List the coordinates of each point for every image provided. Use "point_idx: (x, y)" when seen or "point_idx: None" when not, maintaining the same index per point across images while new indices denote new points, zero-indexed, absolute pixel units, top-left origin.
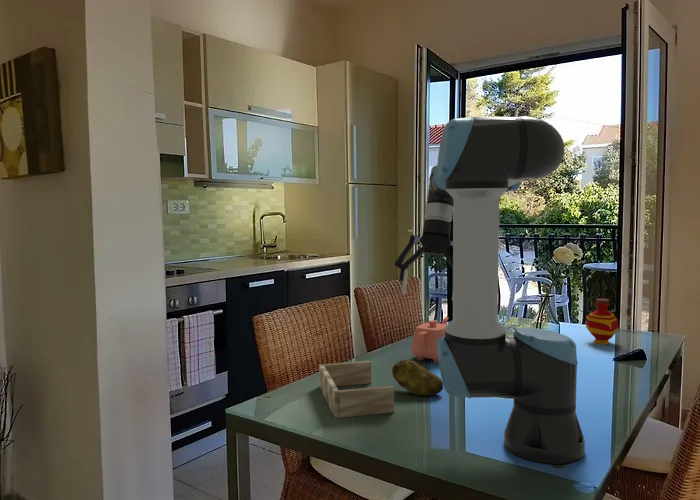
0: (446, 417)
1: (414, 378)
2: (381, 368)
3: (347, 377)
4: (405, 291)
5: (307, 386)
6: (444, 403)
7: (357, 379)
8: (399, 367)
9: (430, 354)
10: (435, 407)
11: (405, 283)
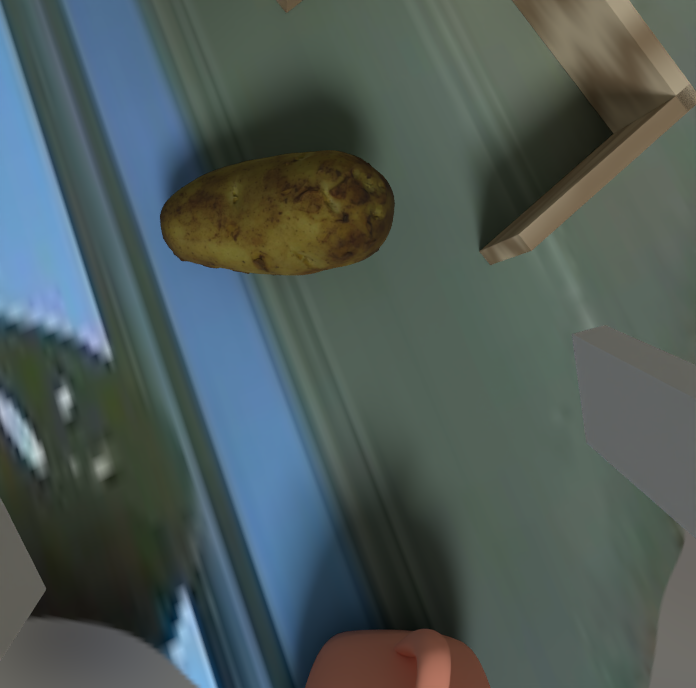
0: (79, 21)
1: (267, 159)
2: (523, 446)
3: (565, 180)
4: (603, 449)
5: None
6: (133, 156)
7: (530, 210)
8: (348, 157)
9: (366, 633)
10: (151, 101)
11: (652, 377)
